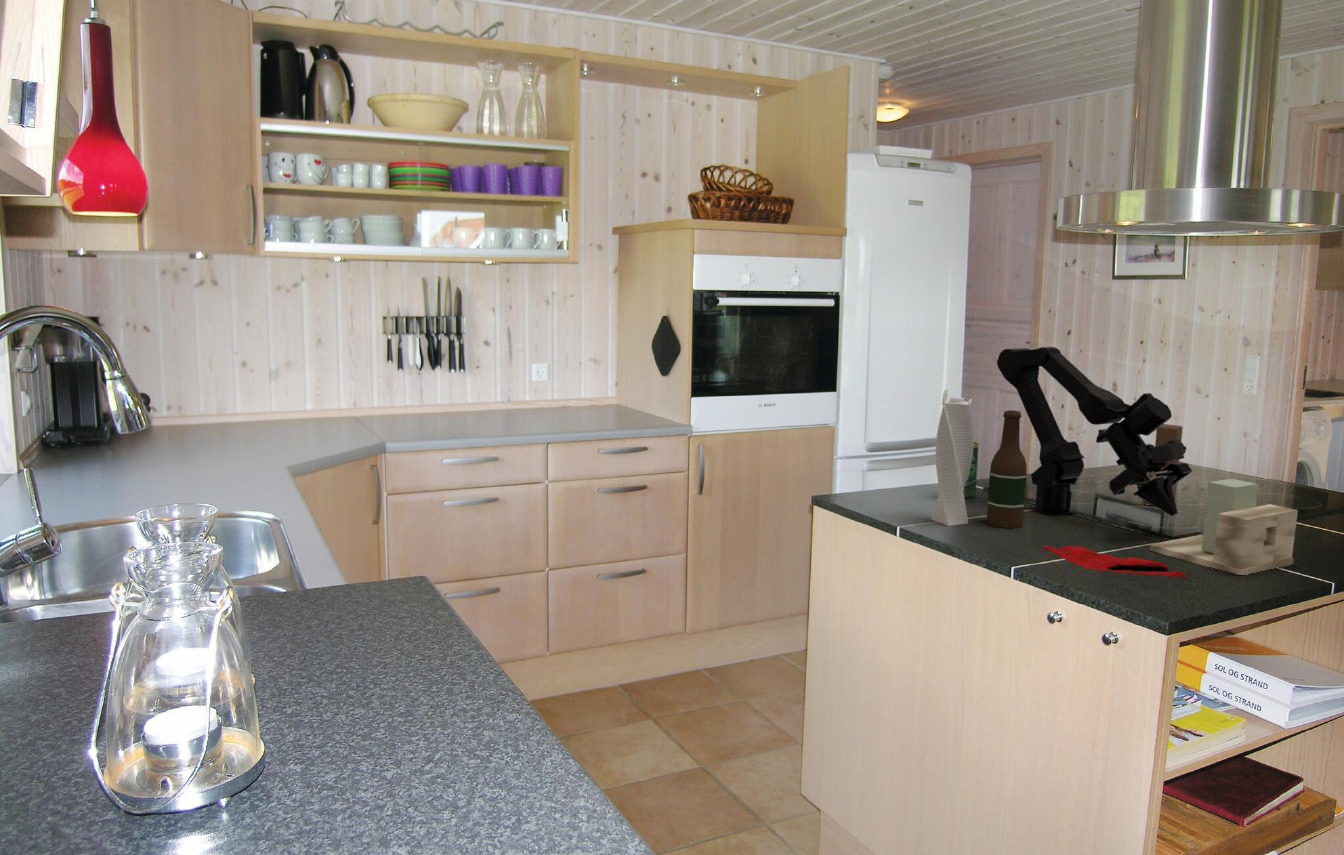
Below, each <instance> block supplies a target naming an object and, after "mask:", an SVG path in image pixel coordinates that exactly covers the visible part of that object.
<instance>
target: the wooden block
mask: <svg viewBox="0 0 1344 855" xmlns="http://www.w3.org/2000/svg"><path fill="white" fill-rule="evenodd" d="M1183 428H1184V427H1183V426H1182V425H1178V424H1177V425H1176V424H1166V423H1164V424H1163V425H1161V426H1160V427H1159V428H1158V429H1156V434H1155V443H1154V447H1158V446H1161V445H1165V444H1167V441H1172V440H1175V439H1179V440H1180V441H1181V442H1182V438H1183ZM1177 462H1180V459H1175V460H1171V461H1167V463H1168V465H1169V464H1171V463H1177ZM1168 465H1166V466H1165V467H1167V466H1168ZM1165 467H1162V468H1161V470H1163V469H1164V468H1165ZM1177 485H1178V482H1177V483H1176V484H1174V485H1173V486H1172V491H1173V496H1174V500H1175V501H1176V495H1177ZM1143 504H1144V505H1145V504H1149V505H1153V504H1151V503H1150V502H1148V501H1146V500H1144V499H1143ZM1149 505H1148V506H1149ZM1152 507H1155V505H1153V506H1152Z"/></svg>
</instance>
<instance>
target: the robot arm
mask: <svg viewBox="0 0 1344 855" xmlns="http://www.w3.org/2000/svg"><path fill="white" fill-rule="evenodd" d="M996 366H997V368H998V370H999V372H1000V373H1001V375H1002V377H1003V378H1004V379H1005V381H1007V382H1008V383H1009V384H1010V385H1011V386H1013V387H1014V388H1015V389H1016V391H1017V393H1018V396H1019V398H1020V401H1021V403H1022V405H1023V407H1024V410H1025V412H1026V415H1027V417H1028V420H1029V421H1030V423H1031V426H1032V429H1033V431H1034V433H1035V436H1036V438H1037V440H1038V442H1039V444H1040V450H1039V462H1040V466H1039V467H1038V468H1037V469H1036V470H1034V471H1033V472H1032V473H1031V474H1030V479H1031V481H1032V483H1031V484H1032V485H1036V493H1035V505H1031V506H1030V507H1031V509H1033V510H1036V511H1037V512H1039V513H1042V514H1044V515H1054V516H1055V515H1072V514H1073V511H1072V510H1071V504H1072V491H1071V486H1072V485H1073V486H1074V485H1076V483H1077V481H1078V479H1079V477H1080V476H1081V475H1082V472H1083V470H1084V469H1085V463H1084V460H1083V459H1085V456H1084V455H1083V454H1082V453H1081V451H1080V447H1079V444H1078V443H1077V441H1068V440H1067V439H1065V437H1063V434H1062V432H1061V430H1060V428H1059V425H1058V423H1057V420H1056V418H1055V416H1054V414H1053V411H1052V410H1051V407H1050V405H1049V403H1048V401H1047V398H1046V396H1045V394H1044V392H1043V388H1042V386H1041V385H1040V382H1039V376H1040V374H1039V373H1040V367H1042V369H1044V370H1045V371H1046V372H1047V373H1048V374H1049V375H1050V376H1051V377H1052V378H1053V379H1055V381H1057V383H1058V384H1059V385H1060V386H1062V387H1063V388H1064V389H1065V391H1067V392H1068V393H1069V394H1070V395H1071V396H1072V397H1073V398H1074V399H1075V401H1076V403H1077V405H1078V410H1079V411H1080V413H1081V414H1082V415H1083V417H1084V418H1085V419H1086V420H1087V422H1089V423H1090V424H1091V425H1093V426H1094V425H1095V426H1097V425H1099V426H1100V425H1107V424H1109V426H1108V427H1107V428H1103V429H1098V431H1097V432H1098V434H1097V436H1096V440H1095V441H1096V443H1097V444H1100V443H1107V442H1108V444H1109V446H1110V447H1111V448H1112V450H1113V451H1114V453H1115V455H1116V456H1117V457H1118V459H1117V460H1116V461H1115V462H1116V464H1117V466H1124V468H1125V469H1124V470H1123V471H1121V472H1120V473H1119V474H1117V475H1116V476H1115V477H1114V478H1112V479H1110V481H1109V485H1108V488H1109V490H1110V492H1111V493H1112V494H1113V496H1119V495H1123V494H1125V491H1126V490H1125V489H1126V488H1127V487H1128V486H1134V485H1136V488H1137V490H1136V491H1135V492H1133V495H1134V496H1135V497H1139V498H1141V499H1142V500H1143V501H1144V500H1146V501H1148V502H1150V503H1151V504H1153V505H1155V506H1156V508H1158V509H1160V510H1161V511H1163V512H1164V513H1165V514H1167V515H1170V516H1171V517H1174V516H1176V515H1177V514H1178V513H1179V511H1178V509H1177V505H1176V499H1175V500H1174V496H1173V491H1172V486H1173V485H1174V484H1176V483H1177V484H1178V483H1179V482H1181V481H1182V480H1183V479H1184V478H1186V477H1187V476H1188V475H1190V474H1191V473H1193V470H1192V467H1190V465H1189V464H1188V463H1187V462H1183V461H1179V462H1177V463H1171V464H1169V465H1168V463H1167V461H1171V460H1175V459H1179V460H1182V459H1185V454H1186V451H1187V446H1185V445H1184V443H1183V442H1182V440H1181V441H1180V440H1179V439H1175V440H1172V441H1167V444H1165V445H1161V446H1158V447H1155V444H1151V443H1150V444H1149V443H1148V444H1147V443H1146V442H1145V441H1144V439H1143V438H1142V436H1150V435H1151V434H1152V433H1154V432H1155V431H1157V429H1158V428H1159V427H1160V426H1161V425H1163V424H1166V423H1167V422H1168V421H1169V420H1171V418H1172V412H1171V409H1170V406H1168V404H1166V403H1164V402H1163V401H1162V400H1161V399H1158V398H1156V397H1154V395H1153V394H1152V393H1150V392H1149V393H1148V392H1147V393H1142V395H1140V397H1139V398H1138V399H1137V400H1136V401H1134V403H1132V404H1127V403H1125V401H1124V400H1123V399H1122V398H1121V397H1119V396H1118V395H1116V394H1115V393H1113V392H1111V391H1110V390H1107V389H1104V388H1102V387H1099V386H1098V385H1097V384H1095V383H1093V381H1092V380H1090V378H1088V377H1087V376H1086V375H1085V374H1083V372H1082V371H1081V370H1079V369H1078V367H1076V366H1075V365H1074V364H1073V363H1072V361H1070V360H1069V359H1067V358H1066V357H1065V356H1064V355H1063V354H1062V352H1061V350H1060V349H1059V348H1057V347H1054V346H1044V347H1043V346H1042V347H1041V346H1040V347H1038V348H1035V349H1030V348H1027V347H1024V348H1021V347H1020V348H1005V349H1003V350H1002V351H1000V353H999V354H998V358H997V360H996ZM1141 435H1142V436H1141ZM1166 465H1168V466H1167V467H1165V466H1166ZM1162 467H1165V468H1164V469H1163V470H1161V468H1162ZM1155 506H1154V507H1155Z"/></svg>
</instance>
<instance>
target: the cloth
mask: <svg viewBox="0 0 1344 855" xmlns="http://www.w3.org/2000/svg"><path fill="white" fill-rule="evenodd" d="M1042 547H1043V549H1045V550H1047V551H1048V552H1051V553H1053V554H1054V555H1056V556H1058V557H1059V558H1061V559H1064V560H1065V561H1067V562H1069V563H1073V564H1075V565H1077V566H1078V567H1080V568H1083V567H1084V569H1086V570H1089V569H1092V570H1091V571H1096V570H1095V569H1098V570H1097V571H1099V570H1100V572H1104V571H1109V572H1108V573H1113V572H1114V573H1115V572H1121V573H1120V574H1126V573H1134V574H1133V575H1137V574H1140V575H1139V576H1150V575H1164V576H1167V577H1166V578H1175V577H1174V576H1177V577H1176V578H1179V577H1187V576H1186V575H1185V574H1184V573H1183V572H1181V571H1171V572H1169V565H1166V564H1164V563H1162V562H1160V561H1159V562H1158V561H1153V560H1146V559H1141V558H1136V557H1128V558H1122V557H1117V556H1116V557H1115V556H1112V555H1109V554H1106V553H1104V554H1102V553H1098V552H1095V551H1091V550H1089V549H1087V548H1085V547H1083V546H1071V545H1070V546H1062V547H1060V548H1059V549H1058V548H1057V549H1056V548H1055V547H1052V546H1044V545H1043V546H1042ZM1096 567H1097V568H1096ZM1116 567H1121V568H1134V569H1135V568H1141V570H1142V568H1156V569H1161V570H1162V571H1163V572H1154V571H1153V572H1145V571H1143V570H1142V571H1143V572H1135V571H1132V570H1133V569H1128V570H1109V569H1114V568H1116ZM1116 569H1117V568H1116ZM1164 569H1166V570H1165V571H1164ZM1111 571H1112V572H1111ZM1122 572H1123V573H1122ZM1124 572H1125V573H1124ZM1164 576H1163V577H1164Z"/></svg>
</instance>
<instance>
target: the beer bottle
mask: <svg viewBox="0 0 1344 855" xmlns="http://www.w3.org/2000/svg"><path fill="white" fill-rule="evenodd" d="M1002 417H1003V419H1004V421H1003V428H1002V433H1001V434H1002V435H1001V442H1000V446H999V448H998V450H997V451H996V453H995V454H994V456H993V457H992V460H991V462H990V469H989V479H988V494H987V507H986V524H987V525H990V526H992V527H996V528H1002V529H1003V528H1005V529H1018V528H1022V527H1023V521H1024V515H1025V514H1024V511H1025V500H1026V488H1027V487H1026V486H1027V484H1026V483H1027V473H1028V472H1027V470H1028V469H1027V461H1026V457H1025V456H1024V454H1023V452H1022V451H1021V447H1020V445H1021V444H1020V432H1021V431H1020V428H1021V427H1020V426H1021V424H1020V423H1021V418H1022V412H1021V411H1019V410H1009V409H1008V410H1005V411H1004V413H1003V415H1002Z"/></svg>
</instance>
